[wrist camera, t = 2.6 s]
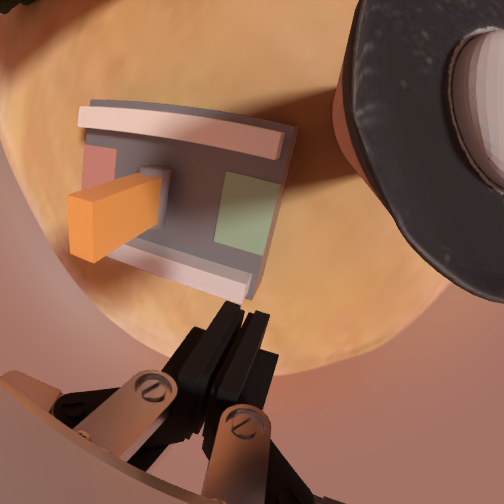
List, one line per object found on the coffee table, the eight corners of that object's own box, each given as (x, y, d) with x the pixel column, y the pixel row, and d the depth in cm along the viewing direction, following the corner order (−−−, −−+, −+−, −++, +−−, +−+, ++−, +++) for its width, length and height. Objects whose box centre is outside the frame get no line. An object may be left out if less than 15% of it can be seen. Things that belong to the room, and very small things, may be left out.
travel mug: (434, 104, 19) (637, 82, 1) (404, 187, 22) (559, 347, 4) (347, 64, 19) (385, -118, 1) (317, 151, 23) (274, 222, 5)
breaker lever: (150, 163, 22) (65, 187, 14) (177, 168, 22) (95, 195, 14) (145, 215, 24) (68, 258, 16) (170, 222, 24) (96, 271, 16)
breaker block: (114, 100, 25) (77, 99, 20) (299, 127, 22) (291, 125, 18) (103, 230, 31) (71, 247, 26) (261, 281, 28) (246, 312, 23)
